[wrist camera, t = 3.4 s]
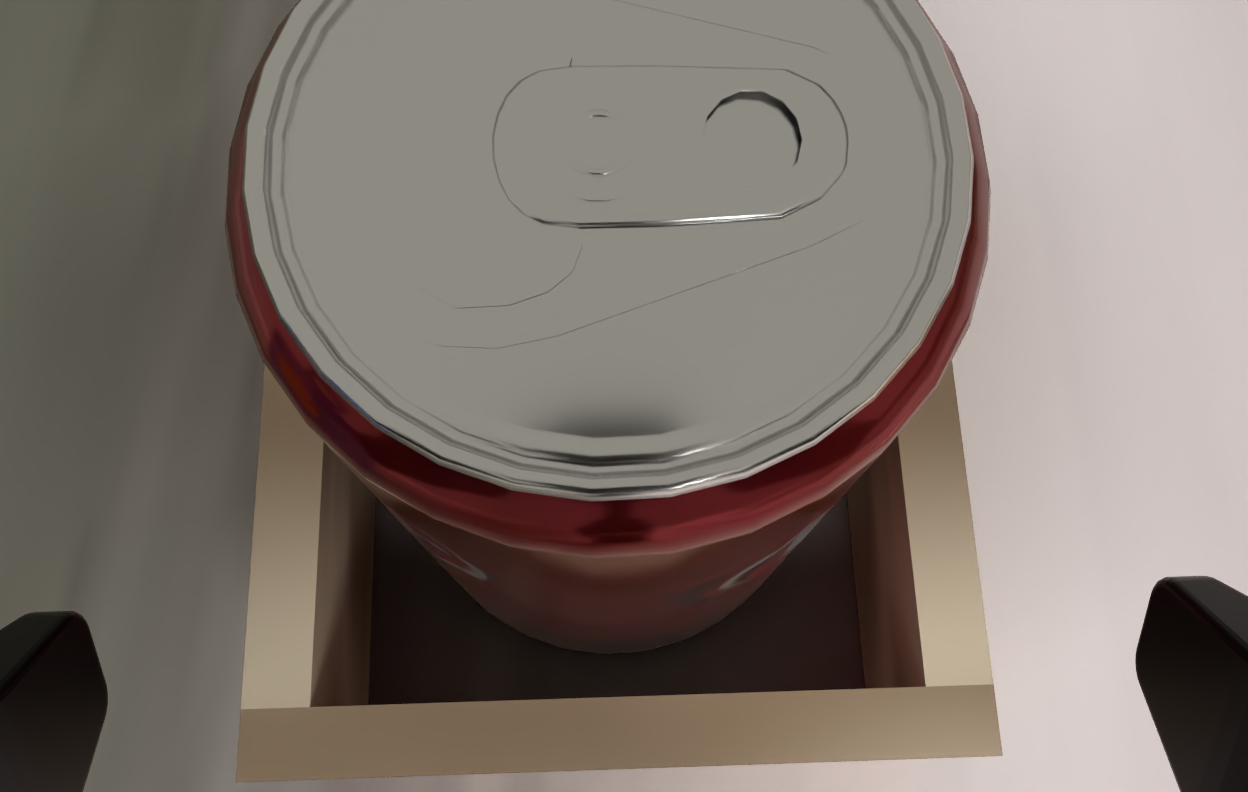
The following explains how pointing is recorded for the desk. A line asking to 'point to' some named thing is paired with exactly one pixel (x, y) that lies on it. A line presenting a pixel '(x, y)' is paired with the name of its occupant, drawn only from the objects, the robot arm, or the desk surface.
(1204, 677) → the robot arm
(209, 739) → the desk surface
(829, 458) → the soda can
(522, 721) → the birch box
